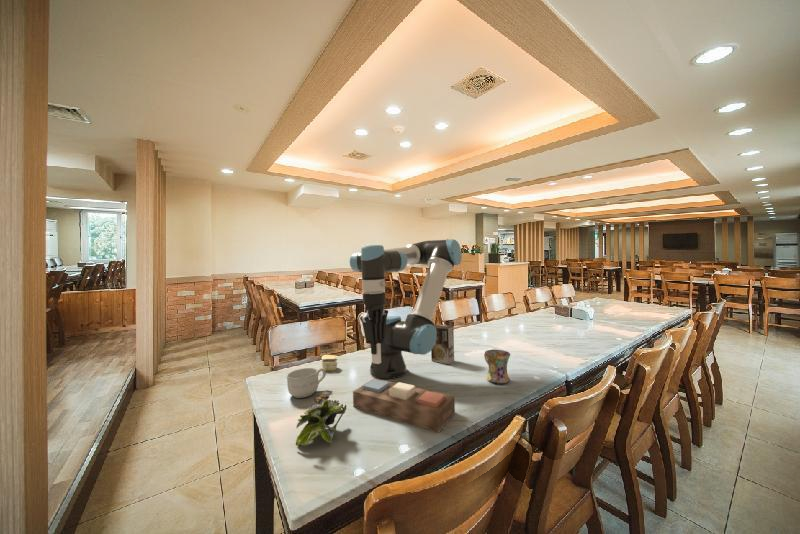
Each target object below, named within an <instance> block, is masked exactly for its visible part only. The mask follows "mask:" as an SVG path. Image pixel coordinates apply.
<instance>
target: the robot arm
mask: <svg viewBox="0 0 800 534" xmlns="http://www.w3.org/2000/svg"><path fill="white" fill-rule="evenodd" d="M462 255H463V254H462V249H461V246H460V243H459V242H458V240H456V239H453V238H452V239H451V238H450V239H449V238H447V239H436V240H434V239H433V240H424V241H420V242H416V243H411V244H407V245H406V246H404V247H396V248H387V249H385V248H384V246H383V245H381V244H371V245H362V247H361V250H360V251H358V252H355V253H352V254H351V256H350V258H349V266H350V269H352V271H354V272H356V273H357V272H358V273H361V291H362V292H363V293H362V305H364V306H365V308H364V314H363V315H361V316H359V317H360V318H359V319H360V320H359V321H360V322H361V323H362V324H361V325H362V328H363V333H364V339H365V343H366V344H368V345H370V353H371V365H370V367H369V374H370V375H371V376H372V377H373V378H376V379H380V380H390V379H391V380H393V379H397V378H401V377H403V376H404V375H405V374H406V373H407V365H406V362H405V359H404V356H403V352H406V353H410V354H413V355H419V356H420V355H421V356H423V355H424V356H425V355H427V354H429V353H431V350H432V349H433V347H434V345H435V343H436V339H437V337H436V335H437V331H436V328H435V327H434V325H436V324H435V321H434V320H433V319H434V316H435V313H436V310H437V307H438V304H439V301H440V298H441V295H442V291H443V289H444V285H445V284H446V283H445V282H446V280H447V276H448V274H449V273H451V272H453V270H454V266H458V265H460V264H461V263H462V258H463V257H462ZM407 265H410V266H414V265H420V266H421V265H425V266H428V269H427V273H426V275H425V277H424V279H423V283H422V286H421V288H420V291H419V294H418V296H417V299H416V302H415V305H414V308H413V310H412V312H410V313H408V314H407V316H406V318H405V319H404V321H403V320H402V318H401V316H399V315H393V316H388V314H389V310H387V309H385V306H384V305H385V304H386V302H387V301H386V299H387V298H386V292H385V291H386V278H385V277H386V276H385V274H388V273H399V272H401V271H403V270H405V269H406V267H407Z"/></svg>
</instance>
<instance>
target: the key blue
mask: <svg viewBox="0 0 800 534" xmlns="http://www.w3.org/2000/svg"><path fill="white" fill-rule="evenodd" d="M373 379H374V378H373ZM373 379H371V380H372V381H371V380H370V382H369V381H368V382H369V383H368V382H366V383H367V384H366V383H364V384H365V385H364V384H363V385H364V390H367V391H371V392H375V393H380V392H382V391H383V390H385V389H386V388H387V387H389V382H390V381H389V382H385V381H386V380H385V381H380V380H381V379H380V380H376V379H377V378H376V379H374V380H373Z"/></svg>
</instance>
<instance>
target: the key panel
mask: <svg viewBox="0 0 800 534" xmlns="http://www.w3.org/2000/svg"><path fill="white" fill-rule="evenodd" d="M374 379H376V380H380V381H385V382H389V387H387V388H386V389H385V390H383V391H382V392H380V393H375V392H371V391H367V390H364V385H365V384H367V383H369V382H370V381H372V380H374ZM370 381H368V382H366V383H364V384H362V385H361V386H359V387H358V388H356V389H355V390H352V400H353V401H352V404H353V407H354V408H357V409H360V410H364V411H367V412H370V413H373V414H378V415H380V416H384V417H387V418H390V419H392V420H393V419H394V420H398V421H401V422H404V423H408V424H410V425H414V426H417V427H421V428H424V429H426V430H431V431H433V430H434V431H433V432H437V431H438V432H437V433H440V432H441V431H440V430H442V429H443V428H444V427H445V426H446V424H447V423H448V422H447V421H450V419H451V418H452V416H453V415H454V414H455V412H456V408H455V407H456V406H455V405H456V404H455V395H451V394H447V393H442V392H437V391H432V390H429V389H425V388H419V387H416V386H415V393H414V394H413V395H412V396H411V397H410V398H409V399H407V400H403V399H399V398H395V397H391V396H389V389H390V388H391V387H393V386H394V385H396V384H397V383H398V382H394V381H393V382H392V381H388V380H386V379H381V378H376V377H373V379H371V380H370ZM426 391H429V392H433V393H438V394H442V395H445V400H444V401H443V402H442V403H441V405H440V406H439V407H438V408H434V407H430V406H426V405H422V404H418V398H419V397H420V396H422V395H423V394H424V393H425V392H426ZM443 426H444V427H443ZM442 427H443V428H442ZM439 431H440V432H439Z"/></svg>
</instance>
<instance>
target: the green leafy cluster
mask: <svg viewBox="0 0 800 534" xmlns="http://www.w3.org/2000/svg"><path fill="white" fill-rule="evenodd" d="M329 398H330V395H319V397H318V396H317V397H313V401H314V403H317V404H311V406H308V407H307V408H306V410H305V411H304V412H303V415H302V414H301V415H299V417H300V418H297V424H296V429H298V428H299V427H301V426H302V425H304V424H305V423H307V424H305V425H304V427H303V428H302V430H301V431H300V433H299V435H297V437H296V440H295V441H296V442H295V446H297V447H298V446H300V445H303V446H306V445H308V444H310V443H311V442H312V441H313V440H315V438H317V437H318V436H319V435H321V437H322V439H323V440H324V441H326V442H327V443H329V445H328V447H330V446H331V445H332V444H331V443H332V441H333V436H334V433H335V432H336V429H337V425H338V424H339V422H340V420H341V418H342V417H343V415H344V414H345V413H346V410H347V407H348V406H347V403H345V404H343V403H340V400H337V399H334V400H333V399H332V400H331V399H329ZM337 415H340V416H339V418H338V420H337V421H336V423H335V419H336V417H337ZM334 423H335V424H334ZM330 425H334V426H330Z"/></svg>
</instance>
